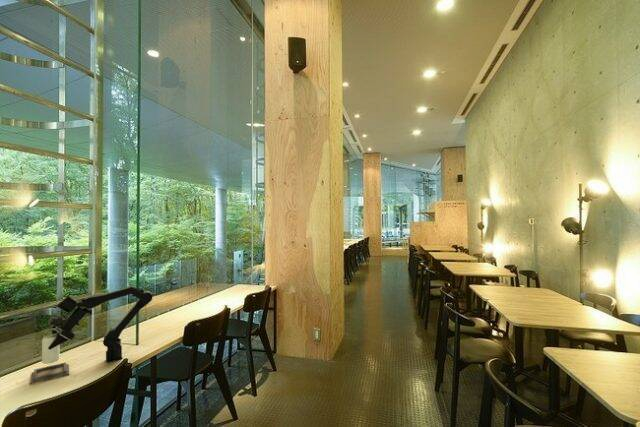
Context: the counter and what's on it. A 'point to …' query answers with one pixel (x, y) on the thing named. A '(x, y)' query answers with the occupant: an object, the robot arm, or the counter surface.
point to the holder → (49, 373)
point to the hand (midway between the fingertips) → (47, 347)
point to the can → (49, 350)
